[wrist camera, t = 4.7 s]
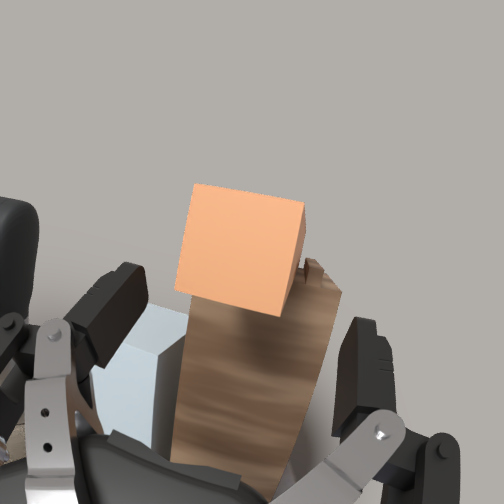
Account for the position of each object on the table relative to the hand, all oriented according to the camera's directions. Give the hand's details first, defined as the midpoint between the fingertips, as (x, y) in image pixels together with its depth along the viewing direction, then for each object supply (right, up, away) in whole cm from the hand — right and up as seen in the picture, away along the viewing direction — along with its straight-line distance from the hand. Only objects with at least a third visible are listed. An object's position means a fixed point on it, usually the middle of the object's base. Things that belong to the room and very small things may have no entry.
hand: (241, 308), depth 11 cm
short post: (-16, -28, +19) cm, 37 cm away
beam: (+2, +1, +12) cm, 12 cm away
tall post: (-4, -31, +17) cm, 35 cm away
